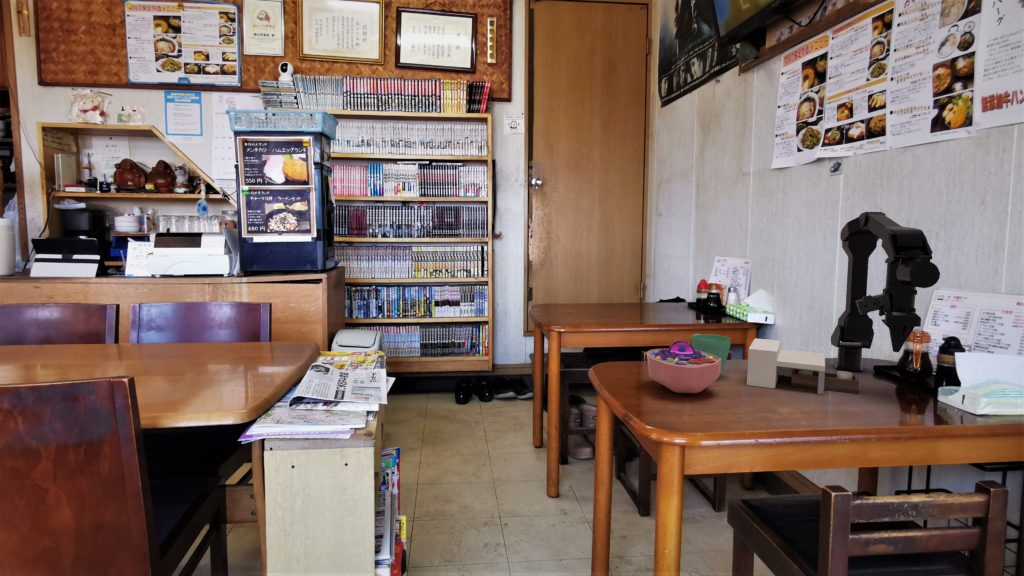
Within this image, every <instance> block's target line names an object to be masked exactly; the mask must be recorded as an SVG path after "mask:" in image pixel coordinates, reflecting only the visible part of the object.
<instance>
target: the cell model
mask: <svg viewBox="0 0 1024 576" xmlns="http://www.w3.org/2000/svg"><path fill="white" fill-rule="evenodd" d="M645 354H646V357H647V366H648V369H647V370H648V375H649V378H650V379H651V380H653V381H654V382H656V383H658V384H660V385H663V386H664V387H666V388H667V389H668V390H670V391H671V392H674V393H678V394H680V393H681V394H699V393H701V392H703V391H704V390H705V389H706V388H707V386H709V385H710V384H711V383H713V382H715V381H716V380H717V379H718V378H720V376H721V374H720V369H721V358H719V357H717V356H715V355H713V354H711V353H708V352H704V351H699V350H695V349H694V348H693V346H692V345H691V342H688V341H687V340H681V339H680V340H676V341H675V342H673V343H672V344H671V345H670V346H669V347H668V348H666V347H665V348H654V349H649V350H648V351H647V352H645ZM719 375H720V376H719Z"/></svg>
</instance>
